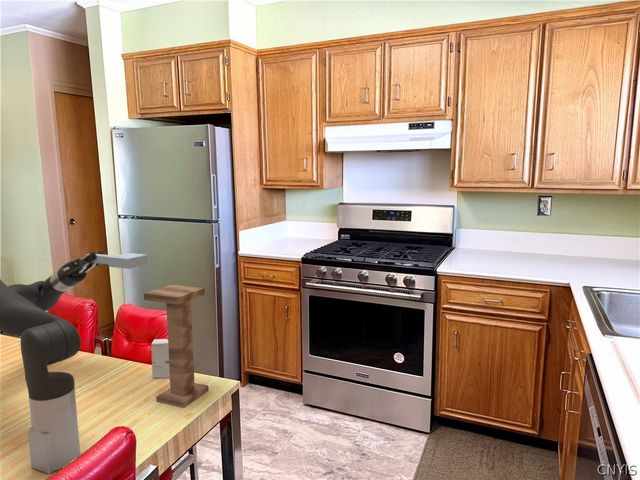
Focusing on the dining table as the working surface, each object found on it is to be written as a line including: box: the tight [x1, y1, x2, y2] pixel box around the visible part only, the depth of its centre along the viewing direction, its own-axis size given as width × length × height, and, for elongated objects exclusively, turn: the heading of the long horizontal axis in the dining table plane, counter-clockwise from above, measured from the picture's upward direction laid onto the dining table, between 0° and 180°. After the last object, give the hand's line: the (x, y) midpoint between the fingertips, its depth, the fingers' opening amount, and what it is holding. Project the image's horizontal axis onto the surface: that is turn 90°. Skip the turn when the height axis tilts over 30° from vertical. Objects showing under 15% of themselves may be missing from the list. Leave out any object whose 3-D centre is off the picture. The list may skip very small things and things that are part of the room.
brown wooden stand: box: [143, 283, 209, 409], centre depth 136 cm, size 12×12×33 cm
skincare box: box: [151, 338, 170, 379], centre depth 152 cm, size 6×4×12 cm
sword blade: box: [85, 252, 149, 270], centre depth 141 cm, size 8×21×3 cm, turn 67°
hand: (98, 254), depth 143 cm, fingers closed on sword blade, 2 cm apart
